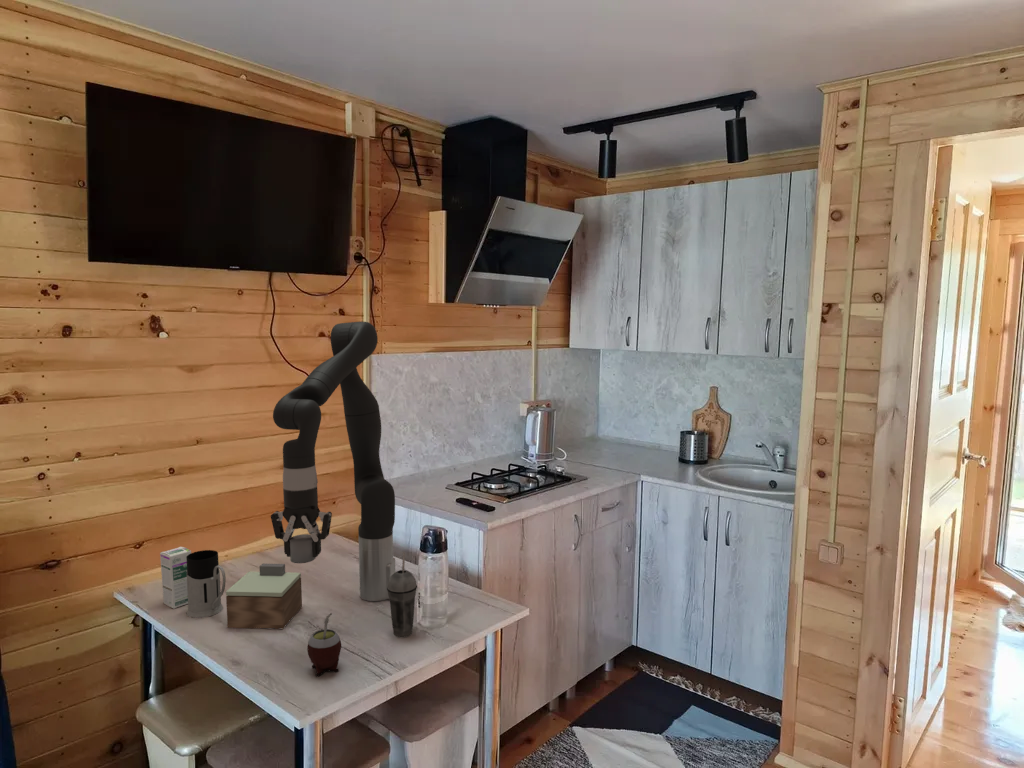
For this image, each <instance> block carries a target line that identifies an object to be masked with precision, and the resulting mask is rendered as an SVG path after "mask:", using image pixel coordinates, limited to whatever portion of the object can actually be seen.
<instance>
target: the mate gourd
mask: <svg viewBox="0 0 1024 768" xmlns="http://www.w3.org/2000/svg"><path fill="white" fill-rule="evenodd" d="M332 615H333V613H332V612H331V613H329V614H327V616H326V617H325V618H324V627H323V629H319V630H317V631H315V632H313V633H312V634H311V636H310V637H309V639H308V642H307V643H308V644H307V649H306V650H307V655H308V658H309V660H310V662H311V663H312V665H311V669H314V670H316V673H315V677H318V678H319V677H320V676H322V675H323V674H324V673H325V672H330V673H331V672H332V673H338V672H339V668H338V665H339V659H340V654H341V650H342V641H341V637H340V635H339V633H338V632H337V631H335V630H333V629H329V628H328V623H329V622H330V621H329V618H330V617H331V616H332Z"/></svg>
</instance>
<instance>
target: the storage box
mask: <svg viewBox="0 0 1024 768" xmlns="http://www.w3.org/2000/svg"><path fill="white" fill-rule="evenodd" d="M302 596H303V595H302V576H301V577H300V578H299V579H298V580H297V581H296V582H295V583H294V584H293V585H292V586H291V587H290V589H289V590H288V591H287V592H286V593H285V594H284V595H283V596H282V597H272V596H228V595H225V602H226V620H227V621H226V623H227V625H226V626H227V628H228V629H232V628H233V629H260V628H275V629H276V630H279V629H278V628H283V629H285V627H286V626H287V625H288V624H289V623H288V622H290V621H291V620H292V619H293V618H294V617H295V615H296V614H298V612H299V611H300V610H299V609H302V607H303V597H302ZM293 616H294V617H293ZM292 617H293V618H292ZM291 618H292V619H291ZM290 619H291V620H290ZM289 620H290V621H289ZM287 623H288V624H287ZM286 624H287V625H286ZM285 625H286V626H285ZM275 629H274V630H275Z"/></svg>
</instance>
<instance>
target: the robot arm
mask: <svg viewBox="0 0 1024 768" xmlns="http://www.w3.org/2000/svg"><path fill="white" fill-rule="evenodd" d="M378 341H379V340H378V333H377V329H376V328H375V326H374V325H373V324H372V323H371V322H369V321H350V322H341V323H336V324H335V325H333V327H332V328H331V331H330V345H331V352H332V355H333V356H331V357H330V358H328V359H326V360H325V361H323V362H322V363H320V364H318V366H316V367H315V368H314V369H313V370H312V371H311V372H310V373H309V375H308V376H307V377H306V378H305V380H303V382H302V384H300V385H297V386H296V387H294V388H293V389H292V390H290V391H289V392H288V393H286V394H285V395H283V396H282V397H281V398H280V399H279V400H278V401H277V403H275V405H274V408H273V412H272V413H273V414H272V417H273V418H272V419H273V422H274V424H275V425H276V426H277V427H278V428H280V429H282V430H292V431H299V432H298V433H299V434H298V435H297V438H295V439H290V440H286V441H285V442H284V444H282V445H283V446H282V462H283V464H282V465H283V469H282V470H283V471H282V472H283V473H282V489H283V507H284V508H283V511H278V510H276V511H274V512H273V513H271V515H270V521H271V523H272V528H273V533H274V536H275V539H277V540H282V542H283V551H284V555H286V557H288V558H290V538H291V537H293V536H294V535H293V534H294V532H295V531H296V530H298V529H302V530H307V534H310V535H311V537H312V539H313V542H312V546H313V557H316V558H318V556H319V555H320V554H321V552H322V540H326V539H327V537H328V536H329V535H330V530H331V523H332V516H333V513H332V511H327V512H326V511H325V512H324V511H321V510H320V508H319V500H318V498H319V497H318V496H319V495H318V482H319V481H318V474H317V473H318V472H317V467H316V452H315V450H316V449H315V448H316V442H317V438H318V433H319V429H320V425H321V422H322V410H321V406H324V405H325V404H326V402H327V401H328V400H329V399H330V397H331V396H332V395H333V393H334V392H335V390H336V389H337V388H338V387H339V385H340V391H341V398H342V404H343V413H344V420H345V427H346V432H347V438H348V441H349V443H348V444H349V447H350V452H351V456H352V461H353V475H354V476H353V478H354V480H353V482H354V483H353V484H354V494H355V498H356V500H357V502H358V503H359V504H360V510H361V511H360V519H361V520H360V524H359V525H358V534H357V535H358V561H359V562H358V565H359V566H358V567H359V569H358V570H359V574H358V575H359V597H360V598H361V599H362V600H364V601H368V602H380V601H384V600H385V601H386V600H390V599H389V596H388V590H387V586H388V581H389V579H390V577H391V576H392V575H393V574H394V573H395V572H396V558H395V557H394V537H393V535H394V534H393V533H394V530H393V529H394V525H395V521H396V516H395V515H396V498H395V497H396V496H395V494H396V493H395V490H394V486H393V485H392V484H391V482H390V481H388V480H387V479H386V478H385V476H384V473H383V468H382V463H381V459H380V447H381V440H382V420H381V413H380V412H381V411H380V406H379V402H378V400H377V398H376V396H375V395H374V394H373V393H372V391H371V390H370V389H369V387H368V386H367V385H366V383H365V382H364V380H363V379H362V378H361V377H362V376H360V373H359V372H358V369H357V367H359V366H360V365H361V364H362V363H363V362H364V361H365V360H366V359H368V358H369V357H370V356H371V355H372V354H373V353H374V351H376V348H377V346H378ZM318 518H320V522H322V526H321V531H320V529H319V525H318V523H317V520H318ZM283 519H285V521H286V522H287V525H286V528H285V530H284V526H283V521H282V520H283Z"/></svg>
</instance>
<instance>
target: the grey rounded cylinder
mask: <svg viewBox="0 0 1024 768" xmlns="http://www.w3.org/2000/svg"><path fill="white" fill-rule="evenodd" d="M312 542H313V539H312V537H311V534H309V533H307V534H305V533H304V534H303V533H302V534H297V535H292V537H291V538H290V557H289V558H290V559H289V560H290V562H291V563H293V564H306V563H311V562H313V561H314V560H316V558H317V557H313V546H312Z"/></svg>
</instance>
